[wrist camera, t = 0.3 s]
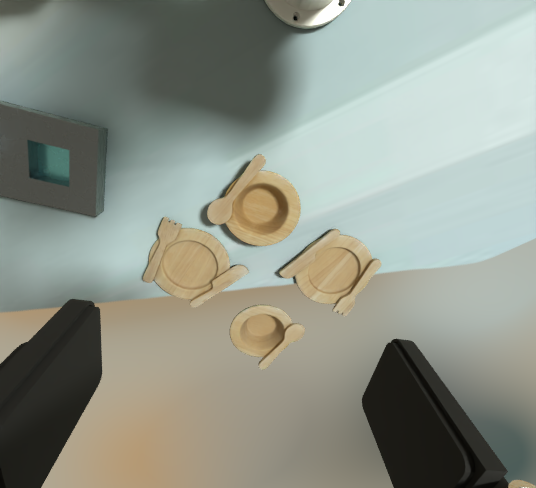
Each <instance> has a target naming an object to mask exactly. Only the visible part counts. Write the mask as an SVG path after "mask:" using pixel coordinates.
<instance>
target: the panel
mask: <svg viewBox="0 0 536 488" xmlns="http://www.w3.org/2000/svg"><path fill="white" fill-rule="evenodd" d="M106 148H107V129H106V128H102V127H98V126H95V125H91V124H87V123H83V122H79V121H76V120H72V119H68V118H64V117H61V116H57V115H53V114H49V113H45V112H42V111H38V110H34V109H30V108H26V107H23V106H19V105H15V104H11V103H7V102H4V101H0V196H4V197H8V198H13V199H17V200H22V201H27V202H31V203H36V204H40V205H45V206H50V207H54V208H59V209H63V210H68V211H73V212H77V213H82V214H86V215H91V216H97V215H99V214H100V213H102V212H103V211H104V191H105V169H106Z"/></svg>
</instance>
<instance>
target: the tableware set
mask: <svg viewBox="0 0 536 488" xmlns="http://www.w3.org/2000/svg"><path fill="white" fill-rule="evenodd" d="M265 162H266V160H265V157H264V156H263V155H261V154H258V155H256V156H255V157H254V158H253V160H252V161H251V162H250V164H249V165H248V167H247V168H246V169H245V171H244V172H243V174H242V175H241V177H239V178H238V179H236V180H235V181H234V182H233V183H232V184H231V186H230V187H229V188H228V190H227V192H226V194H225V197H223V198H220V199H216V200H214V201H213V202H212V203H211V204H210V205H209V207H208V211H207V216H208V219H209V220H210V222H212V223H213V224H217V225H221V224H224V223H226V225H227V227H228V228H229V230H230V231H231V232H232V234H234V235H235V236H236V237H237V238H238V239H240V240H241V241H243V242H245V243H248V244H251V245H256V246H267V245H272V244H275V243H278V242H280V241H282V240H283V239H285V238H286V237H287V236H288V235H289V234H290V233H291V232H292V231H293V230H294V228H295V227H296V225H297V223H298V220H299V217H300V209H301V207H300V200H299V196H298V194H297V192H296V190H295V188H294V187H293V186H292V184H291V183H290V182H289V181H288V180H287V179H285V178H284V177H282V176H281V175H279V174H276V173H273V172H270V171H260V170H261V169H262V167H263V166H264V165H265ZM168 220H169V218H167V217H164V218H163V220H162V222H161V225H160V227H159V230H158V236H159V239H158V240H157V241H156V242H155V244H154V245H153V247H152V249H151V251H150V255H149V265H148V267H147V269H146V271H145V274H144V276H143V280H144V281H145V282H147V283H151V282H152V281H153V280H155V282H156V283H157V284H158V285H159V286H160V287H161V288H162V289H163V290H164V291H166V292H167V293H169V294H171V295H173V296H176V297H179V298H182V299H188V300H191V302H190V306H191V307H197V306H199V305H201V304H202V303H204V302H205V301H207V300H208V299H210V298H211V297H213V296H214V295H216V294H217V293H219V292H221V291H222V290H224V289H225V288H227V287H228V286H230V285H231V284H233V283H234V282H236V281H237V280H239V279H240V278H242V277H243V276H245V275H246V274H248V273H249V271H248V269H247V268H246V267H245V266H244V265H236V266H234V267H232V268H230V261H229V257H228V254H227V252H226V250H225V248H224V247H223V245H222V244H221V243H220V242H219V241H218V240H217V239H216V238H215V237H214V236H212V235H211V234H209V233H207V232H205V231H202V230H199V229H194V228H181V226H182V224H180V223H176V225H175V224H174V223H175V221H174V220H171V221H170V222H169V221H168ZM380 266H381V262H380V260H378V259H372V257H371V254H370V252H369V250H368V249H367V247H366V246H365V245H364V244H363V243H362V242H361V241H359V240H357V239H356V238H353V237H351V236H347V235H340V231H339V230H338V229H333V230H331V231H329V232H328V233H327V234H326V235H324V236H323V237H322V238H320V239H318V240H316V241H314V242H313V243H311V244H310V245H309V246H308V247H307V248H306V249H305V250H304V251H303V252H302V254H301V255H299V256H298V257H297V258H296V259H294V260H293V261H292V262H290V263H289V264H288V265H287V266H285V267H284V268H283V269H282V270H280V272H279V274H280V275H281V276H282V277H284V278H286V279H287V278H291V277H293V276H295V278H296V282H297V285H298V287H299V289H300V290H301V292H302V293H303V294H304V295H305V296H306V297H308V298H309V299H311V300H313V301H315V302H318V303H323V304H335V303H336V305H335V306H334V308H333V311H334V312H337V311H338V313H339V314H341V313H342V315H343V316H346V315H347V314H348V313H349V312H350V310H351V309H352V308H353V306H354V303H355V301H354V300H355V296H356V295H357V294H358V293H359V292H360V291H361V290H362V289H364V287H365V286H366V285H367V283H368V281H369V279H370V278H371V277H372V276H373V275H374V274H375V272H376V271H377V270H378V269H379V268H380ZM304 332H305V329H304V327H303V326H302V325H301V324H297V323H296V324H293V323H292V320H291V318H290V317H289V316H288V315H287V314H286V313H285V312H284V311H283V310H281V309H279V308H277V307H274V306H269V305H256V306H252V307H249V308H246V309H244V310H243V311H241V312H240V313H239V314H238V315H237V316H236V317H235V318H234V319H233V321H232V323H231V326H230V337H231V340H232V342H233V344H234V345H235V347H236V348H237V349H238V350H240V351H241V352H243V353H245V354H247V355H250V356H255V357H263V358H262V360H261V361H260V362H259V368H260V369H262V370H264V369H266V368H267V367H268V366H269V365H270V364H271V363H272V361H273V360H274V359H275V358H276V357H277V356H278V355H279V353H280V352H281V351H282V350H283V349H285V348H286V347H287V346H288V345H289V343H291V342H295V341H298V340H299V339H301V338H302V337H303V335H304Z"/></svg>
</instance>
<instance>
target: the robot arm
mask: <svg viewBox="0 0 536 488" xmlns="http://www.w3.org/2000/svg"><path fill="white" fill-rule="evenodd" d="M264 1H265V2H266V4H267V5H268V7H269V9H270V10H271V11H272V12H273V13H274V14H275V15H276V16H277V17H278V18H279V19H281V20H282V21H283V22H285V23H286V24H289V25H291V26H293V27H297V28H303V29H310V28H317V27H320V26H323V25H325V24H327V23H329V22H331V21H333V20H334V19H335V18H336V17H337V16H339V15H340V14H341V13H342V12H343V11H344V10H345V9H346V8H347V6H348V5H349V3H350V2H351V0H264ZM338 3H341V7H339V6H338ZM294 16H296V17H297V20H296V21H295V20H294V19H293V17H294ZM101 376H102V356H101V325H100V309H99V307H95V305H94V303H93V302H92V301H84V300H76V299H71V300H69V301H68V302H67V303H66V304H65V305H64V306H63V307H62V308H61V309H60V310H59V311H58V312H57V313H56V314H55V315H54V316H53V317H52V318H51V319H50V320H49V321H48V322H47V323H46V324H45V325H44V326H43V327H42V328H41V329H40V330H39V331H38V332H37V333H36V335H34V336H33V338H31V339H30V340H29V341H28V342H26V343H23V344H21V345H20V346H19V347H17V348H16V349H15V350H14V351H13V352H12V353H11V354H10V355H9V356H8V357H7V358H6V359H5V360H4V361H3V362H2V363H1V364H0V488H41V487H42V485H43V483H44V481H45V479H46V478H47V476H48V474H49V472H50V470H51V468H52V467H53V465H54V463H55V461H56V460H57V458H58V456H59V454H60V453H61V451H62V449H63V447H64V446H65V444H66V442H67V440H68V438H69V437H70V435H71V433H72V431H73V429H74V428H75V426H76V424H77V422H78V420H79V419H80V417H81V415H82V413H83V412H84V410H85V408H86V406H87V404H88V403H89V401H90V399H91V397H92V396H93V394H94V392H95V390H96V388H97V387H98V385H99V383H100V380H101ZM362 406H363V409H364V412H365V414H366V417H367V420H368V422H369V425H370V427H371V430H372V433H373V435H374V438H375V440H376V443H377V445H378V448H379V450H380V453H381V456H382V458H383V461H384V463H385V466H386V469H387V471H388V474H389V476H390V479H391V481H392V484H393V487H394V488H536V486H535V485H533V484H531V483H529V482H525V481H522V480H513V481H512V482H511V483H508V482H507V481H506V479H505V478H504V475H505V474H506V473H507V472H508V471H507V470H506V468H505V467H504V466H503V464H502V463H501V461H500V460H499V459H498V458H497V456H496V455H495V453H494V452H493V450H492V449H491V448H490V446H489V445H488V444H487V442H486V441H485V440H484V438H483V437H482V435H481V434H480V433H479V431H478V430H477V428H476V427H475V426H474V424H473V423H472V422H471V420H470V419H469V417H468V416H467V415H466V413H465V412H464V411H463V409H462V408H461V406H460V405H459V404H458V402H457V401H456V400H455V398H454V397H453V396H452V394H451V393H450V391H449V390H448V389H447V387H446V386H445V384H444V383H443V382H442V381H441V379H440V378H439V376H438V375H437V373H436V372H435V371H434V369H433V368H432V367H431V365H430V364H429V362H428V361H427V360H426V358H425V357H424V356H423V354H422V353H421V351H420V350H419V349H418V347H417V346H416V345H415V343H414V342H412V341H409V340H401V339H394V340H392V341H391V343H388V344H387V345H386V347H385V349H384V352H383V354H382V356H381V358H380V360H379V362H378V365H377V367H376V369H375V371H374V373H373V375H372V378H371V380H370V382H369V384H368V386H367V388H366V391H365V393H364V395H363V398H362Z"/></svg>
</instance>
